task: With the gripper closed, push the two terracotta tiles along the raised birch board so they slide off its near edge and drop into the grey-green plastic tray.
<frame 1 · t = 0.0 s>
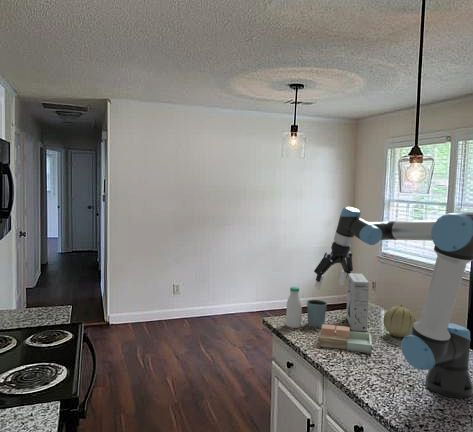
hand: (329, 286, 183), 28 cm above the worktop, tool tilted 20°, fingers open, 13 cm apart
cantaloupe: (398, 336, 202), on the worktop
grey-blue hollow tapered cylinder: (316, 325, 217), on the worktop
tile 2: (342, 334, 191), point 4 cm above the worktop, touching board
tile 1: (328, 333, 193), point 4 cm above the worktop, touching board
tray: (359, 345, 189), on the worktop
cereal box: (356, 324, 219), on the worktop
milk bottle: (293, 326, 215), on the worktop
board: (333, 342, 192), on the worktop
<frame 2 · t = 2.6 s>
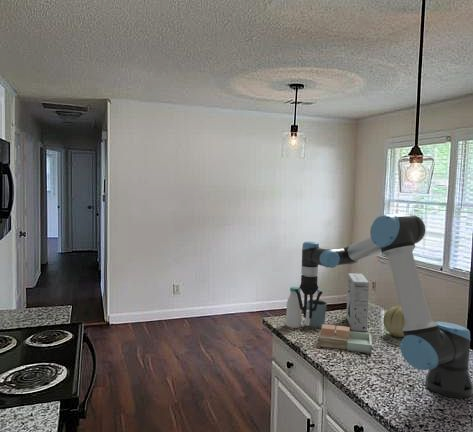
hand: (307, 324, 196), 7 cm above the worktop, tool pointing down, fingers closed
nothing on the worktop moved.
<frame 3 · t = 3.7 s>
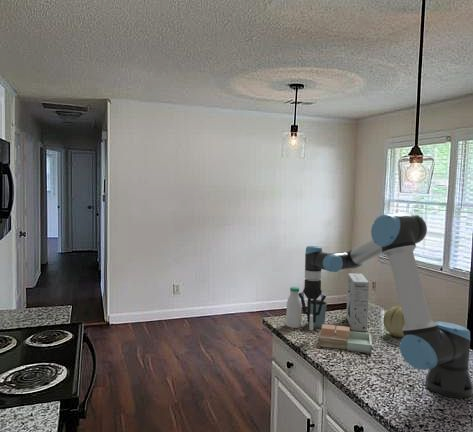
hand: (311, 329, 195), 5 cm above the worktop, tool pointing down, fingers closed
nothing on the worktop moved.
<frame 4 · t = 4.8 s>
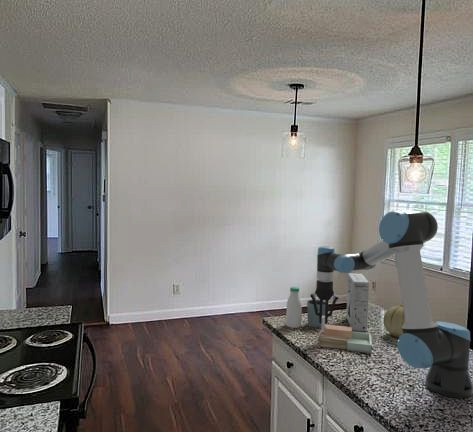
hand: (323, 330, 193), 5 cm above the worktop, tool pointing down, fingers closed
tile 2: (344, 334, 191), point 4 cm above the worktop
tile 1: (331, 333, 192), point 4 cm above the worktop, touching board, gripper
everything else where it was.
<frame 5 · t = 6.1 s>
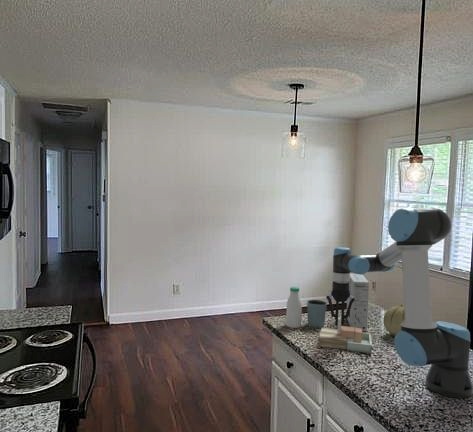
hand: (339, 332, 191), 5 cm above the worktop, tool pointing down, fingers closed
tile 2: (354, 335, 190), point 4 cm above the worktop, tilted 95°, touching tile 1, tray
tile 1: (347, 335, 190), point 4 cm above the worktop, touching gripper, tile 2
everything else where it was.
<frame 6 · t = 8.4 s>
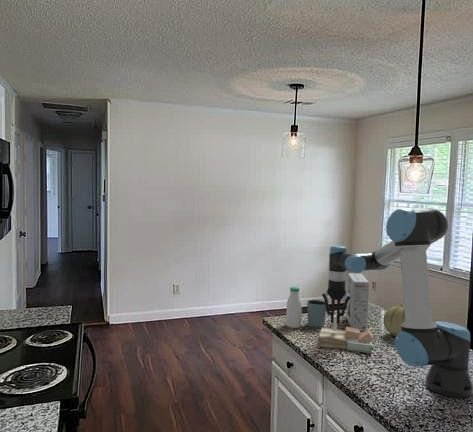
hand: (334, 329, 192), 6 cm above the worktop, tool pointing down, fingers closed
tile 2: (363, 334, 189), point 5 cm above the worktop, tilted 140°, touching tile 1, tray
tile 1: (351, 336, 190), point 4 cm above the worktop, tilted 7°, touching board, tile 2
everything else where it was.
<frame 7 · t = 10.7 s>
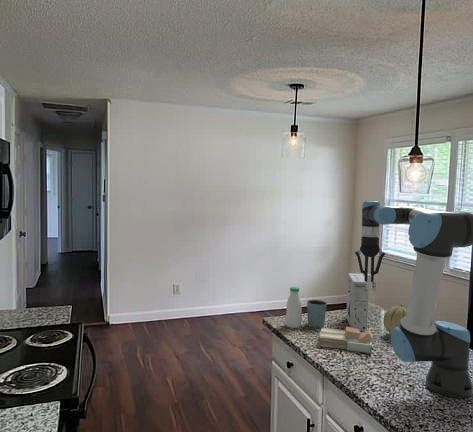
hand: (368, 289, 184), 27 cm above the worktop, tool pointing down, fingers closed
nothing on the worktop moved.
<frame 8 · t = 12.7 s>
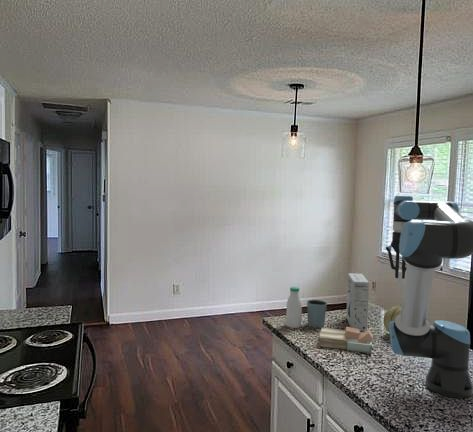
hand: (399, 285, 180), 29 cm above the worktop, tool pointing down, fingers closed
nothing on the worktop moved.
at the end: tile 1 inside the target area on the tray (3.2 cm from its centre), point 3.8 cm above the tray's base; tile 2 inside the target area on the tray (1.7 cm from its centre), point 5.0 cm above the tray's base; tile 1 moved 10.5 cm from its start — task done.
